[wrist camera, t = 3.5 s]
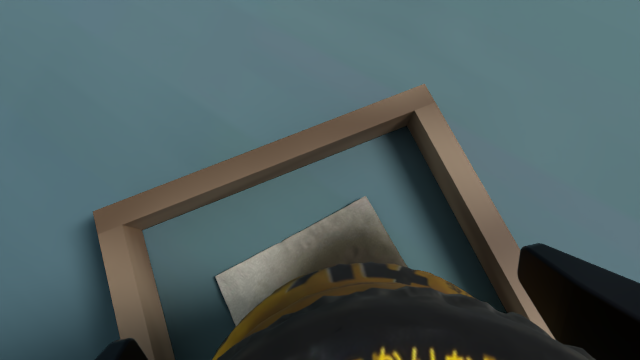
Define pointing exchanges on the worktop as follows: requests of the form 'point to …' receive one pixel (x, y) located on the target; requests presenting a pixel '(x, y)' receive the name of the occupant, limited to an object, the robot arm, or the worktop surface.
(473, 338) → the condiment
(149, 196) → the walnut frame
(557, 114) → the worktop surface
